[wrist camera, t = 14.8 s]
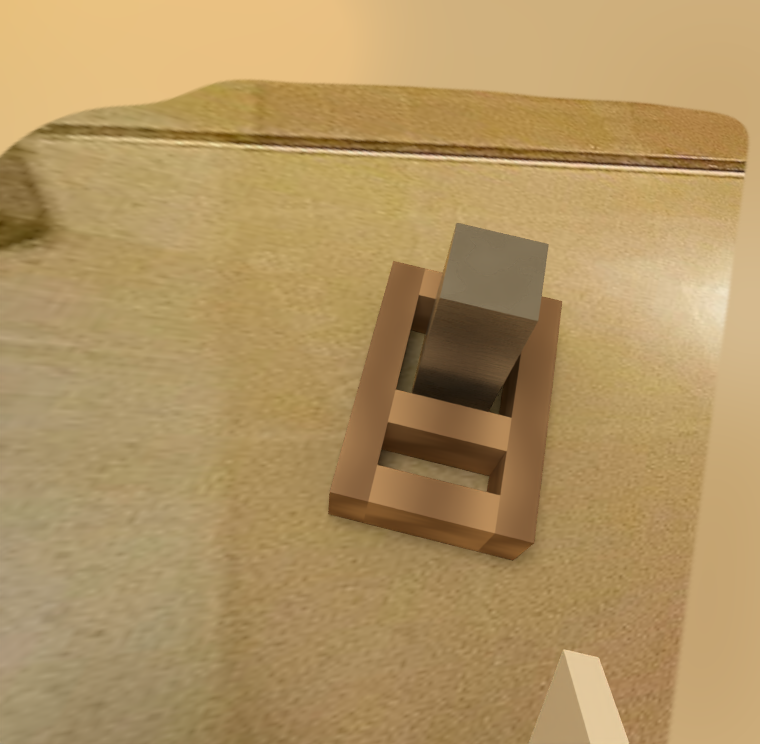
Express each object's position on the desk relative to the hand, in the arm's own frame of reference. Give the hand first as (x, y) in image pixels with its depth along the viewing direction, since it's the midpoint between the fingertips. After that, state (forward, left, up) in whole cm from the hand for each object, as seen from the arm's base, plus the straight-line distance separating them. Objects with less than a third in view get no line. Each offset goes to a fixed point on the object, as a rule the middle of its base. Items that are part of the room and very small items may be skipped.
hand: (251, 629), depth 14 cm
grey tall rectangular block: (+5, +18, -21) cm, 28 cm away
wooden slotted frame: (+5, +16, -21) cm, 27 cm away
